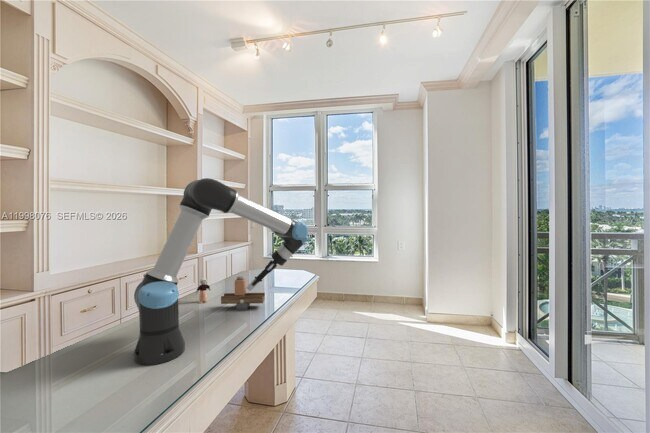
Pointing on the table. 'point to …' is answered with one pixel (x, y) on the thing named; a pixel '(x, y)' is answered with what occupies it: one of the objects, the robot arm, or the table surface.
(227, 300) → the beam
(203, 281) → the grandmother figurine
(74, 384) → the table surface
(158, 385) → the table surface
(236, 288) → the rider
